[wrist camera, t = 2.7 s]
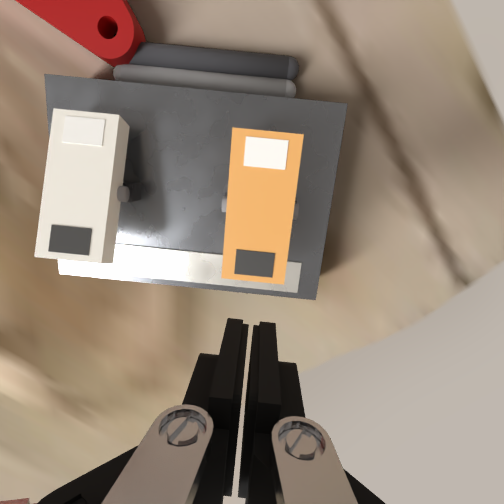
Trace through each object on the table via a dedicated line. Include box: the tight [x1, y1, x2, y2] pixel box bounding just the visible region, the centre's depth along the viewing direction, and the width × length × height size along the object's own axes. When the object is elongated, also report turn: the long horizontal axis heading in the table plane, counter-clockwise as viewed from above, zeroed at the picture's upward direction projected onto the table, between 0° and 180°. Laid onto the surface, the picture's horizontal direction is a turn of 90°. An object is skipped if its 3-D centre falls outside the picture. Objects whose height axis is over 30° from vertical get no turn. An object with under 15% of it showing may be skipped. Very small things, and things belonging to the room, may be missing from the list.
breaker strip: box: [44, 74, 347, 300], centre depth 24 cm, size 14×20×6 cm
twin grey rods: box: [113, 42, 299, 98], centre depth 23 cm, size 3×14×2 cm, turn 85°
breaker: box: [34, 108, 130, 264], centre depth 20 cm, size 9×5×2 cm, turn 175°
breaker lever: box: [221, 127, 304, 285], centre depth 20 cm, size 9×5×2 cm, turn 175°
